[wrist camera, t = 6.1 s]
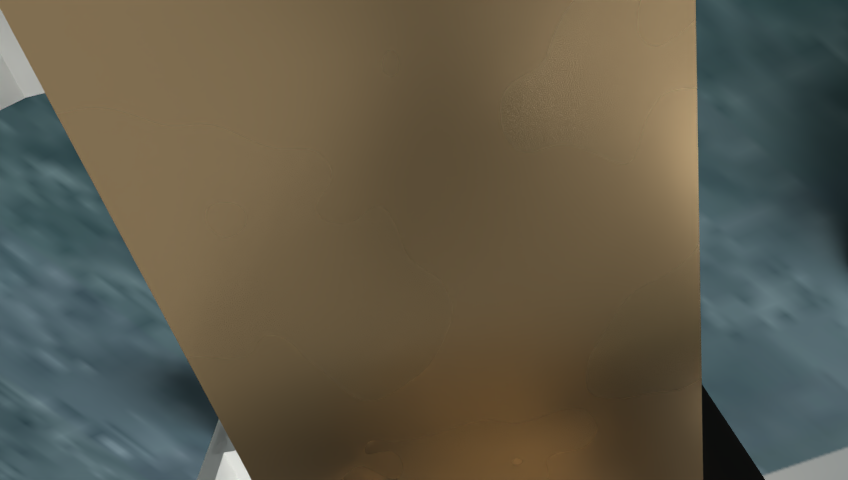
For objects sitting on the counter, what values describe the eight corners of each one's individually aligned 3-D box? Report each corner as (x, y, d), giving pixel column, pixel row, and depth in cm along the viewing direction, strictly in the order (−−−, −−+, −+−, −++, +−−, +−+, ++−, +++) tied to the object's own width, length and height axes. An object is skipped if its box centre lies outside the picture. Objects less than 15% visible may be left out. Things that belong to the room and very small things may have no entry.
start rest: (2, -16, 19) (-103, 2, 15) (196, -68, 18) (142, -64, 14) (248, 449, 29) (224, 533, 25) (378, 423, 28) (375, 504, 24)
